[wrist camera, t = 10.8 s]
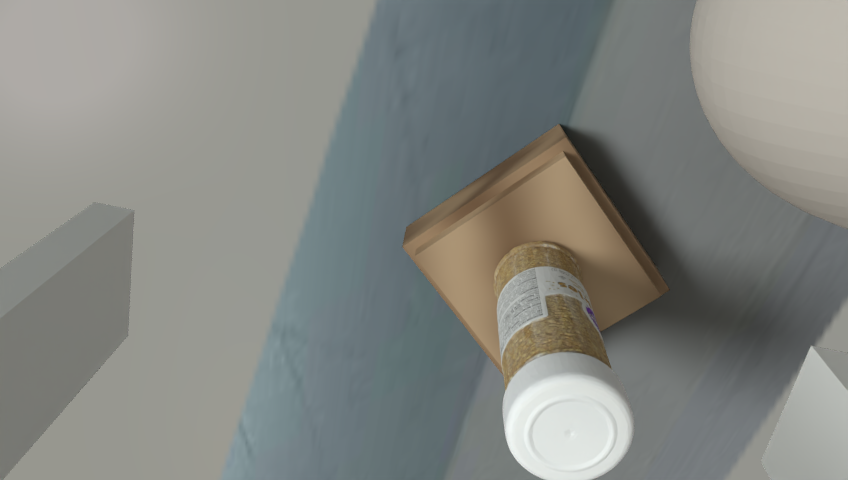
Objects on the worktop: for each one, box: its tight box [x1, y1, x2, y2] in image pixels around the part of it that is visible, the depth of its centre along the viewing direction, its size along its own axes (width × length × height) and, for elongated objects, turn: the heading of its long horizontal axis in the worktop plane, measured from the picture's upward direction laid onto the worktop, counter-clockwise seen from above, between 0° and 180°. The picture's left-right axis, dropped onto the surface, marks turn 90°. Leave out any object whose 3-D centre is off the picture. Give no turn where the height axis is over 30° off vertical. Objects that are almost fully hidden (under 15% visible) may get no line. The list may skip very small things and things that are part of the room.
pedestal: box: [402, 124, 670, 376], centre depth 41 cm, size 10×10×4 cm
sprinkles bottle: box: [493, 241, 634, 480], centre depth 33 cm, size 5×5×13 cm
